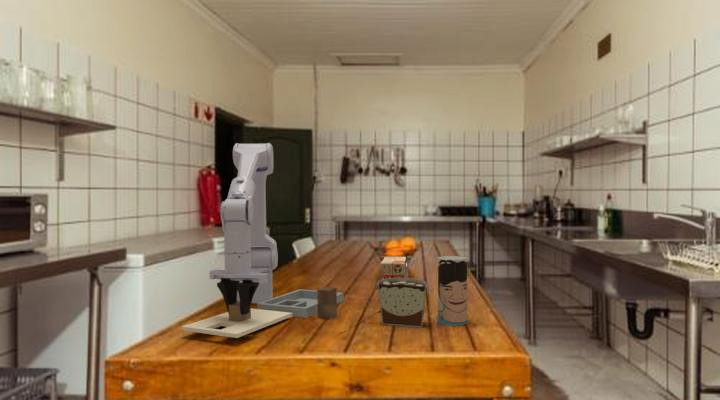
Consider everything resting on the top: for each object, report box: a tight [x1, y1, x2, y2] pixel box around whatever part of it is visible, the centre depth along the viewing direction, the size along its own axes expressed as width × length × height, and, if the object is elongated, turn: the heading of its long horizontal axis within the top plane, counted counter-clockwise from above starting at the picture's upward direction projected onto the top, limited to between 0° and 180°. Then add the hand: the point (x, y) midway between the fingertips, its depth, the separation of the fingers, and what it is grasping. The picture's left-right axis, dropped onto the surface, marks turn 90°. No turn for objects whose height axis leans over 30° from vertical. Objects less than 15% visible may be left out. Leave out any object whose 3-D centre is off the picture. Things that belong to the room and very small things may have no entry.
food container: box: [375, 277, 429, 328], centre depth 122 cm, size 12×6×10 cm, turn 71°
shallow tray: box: [256, 288, 345, 319], centre depth 136 cm, size 14×20×3 cm
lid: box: [181, 301, 292, 339], centre depth 117 cm, size 15×21×4 cm
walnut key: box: [316, 286, 338, 320], centre depth 125 cm, size 3×4×8 cm
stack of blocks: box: [380, 256, 409, 280], centre depth 146 cm, size 21×6×12 cm, turn 172°
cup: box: [437, 255, 468, 327], centre depth 122 cm, size 7×7×15 cm
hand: (238, 313), depth 117 cm, fingers closed on lid, 3 cm apart
